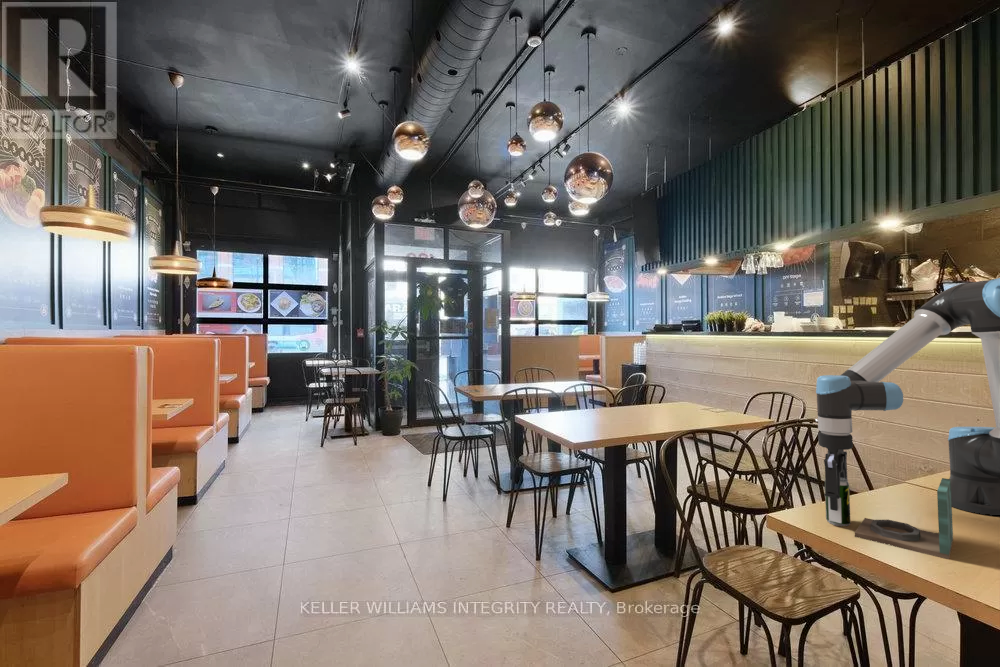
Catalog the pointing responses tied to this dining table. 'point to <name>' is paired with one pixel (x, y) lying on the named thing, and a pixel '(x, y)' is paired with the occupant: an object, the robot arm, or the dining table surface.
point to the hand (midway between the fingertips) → (838, 518)
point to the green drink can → (844, 503)
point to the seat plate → (915, 529)
